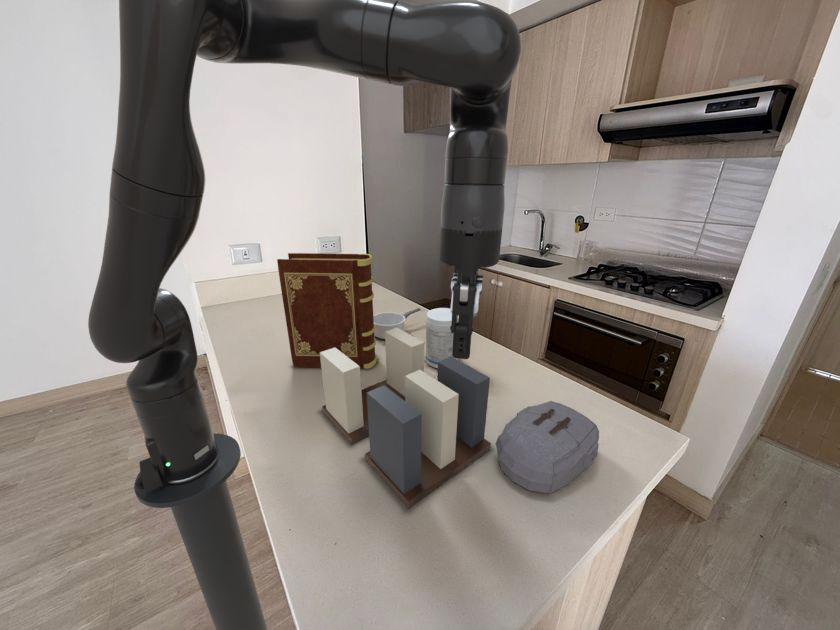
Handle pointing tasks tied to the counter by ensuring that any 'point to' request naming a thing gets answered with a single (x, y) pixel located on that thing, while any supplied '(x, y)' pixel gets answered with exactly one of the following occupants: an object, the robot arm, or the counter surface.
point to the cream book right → (402, 357)
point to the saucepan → (390, 322)
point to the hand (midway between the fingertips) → (463, 342)
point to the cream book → (434, 416)
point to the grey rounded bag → (547, 446)
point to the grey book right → (467, 398)
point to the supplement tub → (438, 336)
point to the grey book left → (395, 437)
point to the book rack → (429, 471)
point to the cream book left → (342, 389)
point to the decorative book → (328, 306)
